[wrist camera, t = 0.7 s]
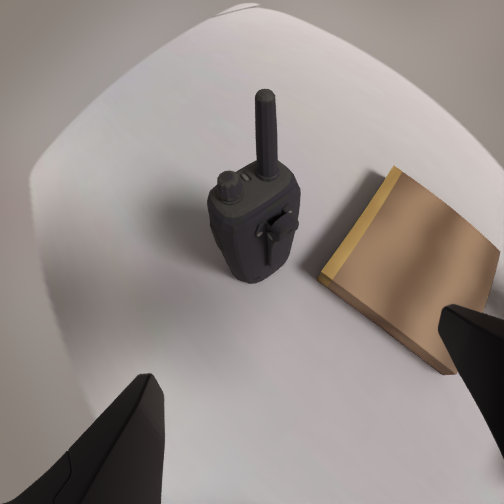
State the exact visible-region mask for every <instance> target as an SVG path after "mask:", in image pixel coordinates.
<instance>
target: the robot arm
mask: <svg viewBox="0 0 504 504" xmlns="http://www.w3.org/2000/svg"><path fill="white" fill-rule="evenodd" d="M438 333H439V336H440V338H441V339H442V341H443V343H444V345H445V347H446V349H447V351H448V353H449V355H450V357H451V359H452V361H453V363H454V365H455V367H456V369H457V371H458V373H459V375H460V376H461V378H462V380H463V381H464V383H465V385H466V386H467V388H468V390H469V391H470V393H471V395H472V397H473V399H474V400H475V402H476V404H477V406H478V408H479V409H480V411H481V413H482V415H483V417H484V419H485V421H486V423H487V425H488V427H489V429H490V431H491V433H492V435H493V437H494V439H495V441H496V443H497V445H498V447H499V450H500V452H501V454H502V456H503V458H504V320H502V319H499V318H496V317H493V316H490V315H487V314H484V313H481V312H478V311H475V310H472V309H469V308H466V307H463V306H460V305H457V304H450V305H447V306H445V307H443V308H442V310H441V315H440V319H439V324H438ZM164 448H165V421H164V394H163V391H162V389H161V388H160V386H159V384H158V382H157V380H156V379H155V377H154V375H153V374H151V373H147V374H139V375H138V376H137V377H136V378H135V379H134V380H133V381H132V382H131V383H130V384H129V385H128V386H127V387H126V388H125V389H124V390H123V392H122V393H121V394H120V395H119V396H118V397H117V398H116V399H115V400H114V401H113V402H112V403H111V404H110V405H109V407H108V408H107V409H106V410H105V411H104V412H103V413H102V414H101V415H100V416H99V417H98V418H97V419H96V420H95V421H94V423H93V424H92V425H91V426H90V427H89V428H88V429H87V430H86V431H85V432H84V433H83V434H82V435H81V436H80V438H79V439H78V440H77V441H76V442H75V443H74V444H73V445H72V446H71V447H70V448H69V451H66V452H65V454H64V455H63V456H62V457H61V458H60V459H59V460H58V461H57V462H56V463H55V464H54V465H53V466H52V467H51V468H50V469H49V470H48V471H47V472H46V473H44V474H43V475H42V476H41V477H40V478H39V479H38V480H37V481H35V482H34V483H33V484H32V485H31V486H29V487H28V488H27V489H26V490H25V491H24V492H22V493H21V494H20V495H19V496H17V497H16V498H15V499H13V500H11V501H9V502H7V503H3V504H161V491H162V474H163V460H164Z"/></svg>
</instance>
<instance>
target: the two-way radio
mask: <svg viewBox="0 0 504 504" xmlns="http://www.w3.org/2000/svg"><path fill="white" fill-rule="evenodd" d="M255 127H256V155H257V160H256V161H254V162H252V163H250V164H248V165H247V166H245V167H243V168H242V169H240V170H238V171H237V172H233V171H224V172H223V173H221V174H220V175H219V177H218V180H217V185H216V186H215V187H214V188H213V189H212V190H210V193H209V196H208V200H207V206H208V212H209V217H210V227H211V230H212V233H213V236H214V238H215V241H216V243H217V245H218V247H219V248H220V250H221V251H222V254H223V256H224V258H225V260H226V262H227V264H228V266H229V267H230V269H231V271H232V273H233V275H234V276H235V277H236V278H237V279H238V280H240V281H244V282H247V283H249V284H252V283H258V282H260V281H262V280H264V279H265V278H267V277H269V276H270V275H271V274H273V273H274V272H275V271H277V270H278V269H279V268H280V267H281V266H282V265H283V264H284V263H285V262H286V261H287V259H288V256H289V254H290V250H291V246H292V242H293V238H294V233H295V230H297V229H298V225H299V222H298V215H299V207H300V195H301V193H300V187H299V186H298V183H297V181H296V179H295V176H294V174H293V173H292V172H291V171H290V170H289V169H288V168H287V167H286V166H285V165H283V164H282V163H281V162H280V161H278V155H277V120H276V103H275V95H274V93H273V92H272V91H271V90H269V89H261V90H259V91H258V92H257V93H256V95H255Z"/></svg>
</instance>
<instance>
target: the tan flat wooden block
mask: <svg viewBox="0 0 504 504" xmlns="http://www.w3.org/2000/svg"><path fill="white" fill-rule="evenodd" d="M499 256H500V251H499V250H498V249H497V248H496V247H495V246H494V245H493V244H492V243H491V242H490V241H489V240H488V239H487V238H486V237H484V236H483V235H482V234H481V233H480V232H479V231H478V230H477V229H476V228H474V227H473V226H472V225H471V224H470V223H469V222H468V221H466V220H465V219H464V218H463V217H462V216H461V215H459V214H458V213H457V212H456V211H454V210H453V209H452V208H451V207H450V206H448V205H447V204H446V203H444V202H443V201H442V200H441V199H439V198H438V197H437V196H435V195H434V194H433V193H431V192H430V191H429V190H427V189H426V188H425V187H423V186H422V185H421V184H419V183H418V182H416V181H415V180H414V179H412V178H411V177H409V176H408V175H406V174H405V173H403V172H402V171H401V170H400V169H398V168H397V167H395V166H393V167H392V169H391V171H390V172H389V174H388V175H387V177H386V178H385V180H384V182H383V183H382V185H381V186H380V188H379V189H378V191H377V192H376V194H375V195H374V197H373V198H372V200H371V201H370V203H369V204H368V206H367V207H366V209H365V210H364V212H363V213H362V215H361V216H360V218H359V219H358V221H357V222H356V223H355V225H354V226H353V228H352V229H351V231H350V232H349V234H348V235H347V236H346V238H345V239H344V241H343V242H342V243H341V245H340V246H339V248H338V249H337V250H336V252H335V253H334V254H333V256H332V257H331V259H330V260H329V261H328V263H327V264H326V265H325V267H324V268H323V269H322V271H321V272H320V274H319V276H318V278H317V280H318V281H319V282H320V283H322V284H323V285H324V286H326V287H327V288H328V289H330V290H331V291H333V292H334V293H335V294H337V295H338V296H339V297H341V298H342V299H343V300H345V301H346V302H347V303H349V304H350V305H351V306H353V307H354V308H355V309H357V310H358V311H360V312H361V313H362V314H364V315H365V316H366V317H368V318H369V319H370V320H372V321H373V322H374V323H376V324H377V325H378V326H380V327H381V328H382V329H384V330H385V331H386V332H388V333H389V334H390V335H391V336H393V337H394V338H395V339H397V340H398V341H399V342H401V343H402V344H403V345H405V346H406V347H407V348H409V349H410V350H411V351H413V352H414V353H415V354H416V355H418V356H419V357H420V358H422V359H423V360H424V361H426V362H427V363H428V364H430V365H431V366H432V367H433V368H435V369H436V370H437V371H439V372H440V373H441V374H442V375H454V374H457V372H458V371H457V369H456V367H455V365H454V363H453V361H452V359H451V357H450V355H449V353H448V351H447V349H446V347H445V345H444V343H443V341H442V339H441V338H440V336H439V333H438V324H439V319H440V315H441V310H442V308H443V307H445V306H447V305H450V304H457V305H460V306H463V307H466V308H469V309H472V310H475V311H478V312H481V313H483V310H484V307H485V305H486V302H487V299H488V295H489V292H490V289H491V286H492V282H493V279H494V275H495V272H496V268H497V264H498V260H499Z"/></svg>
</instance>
